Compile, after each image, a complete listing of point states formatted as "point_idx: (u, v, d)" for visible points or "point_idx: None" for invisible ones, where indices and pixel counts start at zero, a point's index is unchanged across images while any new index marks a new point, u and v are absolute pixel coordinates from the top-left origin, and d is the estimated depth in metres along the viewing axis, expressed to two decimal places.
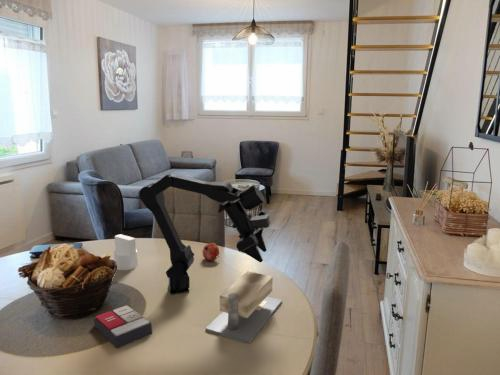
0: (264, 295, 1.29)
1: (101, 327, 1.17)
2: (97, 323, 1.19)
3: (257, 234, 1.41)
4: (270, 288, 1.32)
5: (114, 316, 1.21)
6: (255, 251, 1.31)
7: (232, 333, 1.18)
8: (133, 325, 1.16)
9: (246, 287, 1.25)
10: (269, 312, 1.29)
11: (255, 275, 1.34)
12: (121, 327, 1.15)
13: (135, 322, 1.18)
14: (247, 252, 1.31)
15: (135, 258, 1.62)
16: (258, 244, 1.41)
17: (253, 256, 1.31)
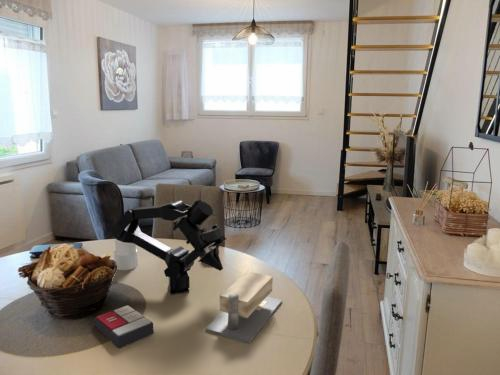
0: (264, 295, 1.29)
1: (102, 327, 1.17)
2: (98, 323, 1.19)
3: None
4: (270, 288, 1.32)
5: (115, 316, 1.21)
6: (212, 260, 1.35)
7: (232, 333, 1.18)
8: (135, 325, 1.16)
9: (246, 287, 1.25)
10: (269, 312, 1.29)
11: (255, 275, 1.34)
12: (123, 327, 1.15)
13: (136, 322, 1.18)
14: (205, 261, 1.35)
15: (135, 258, 1.62)
16: None
17: (212, 265, 1.35)
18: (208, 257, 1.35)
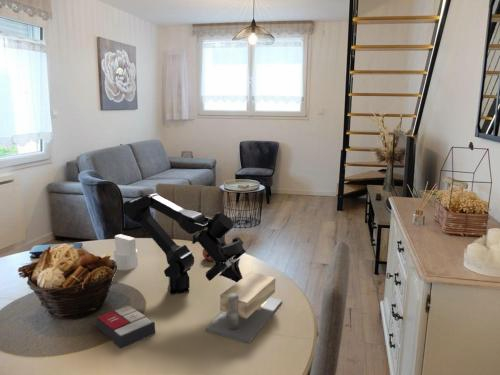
0: (266, 296, 1.28)
1: (104, 327, 1.17)
2: (100, 323, 1.19)
3: None
4: (272, 289, 1.32)
5: (117, 316, 1.21)
6: (233, 274, 1.32)
7: (232, 333, 1.18)
8: (136, 325, 1.16)
9: (247, 288, 1.25)
10: (269, 312, 1.29)
11: (257, 275, 1.34)
12: (125, 327, 1.15)
13: (138, 322, 1.18)
14: (226, 275, 1.33)
15: (135, 258, 1.62)
16: None
17: (233, 279, 1.33)
18: (229, 271, 1.33)
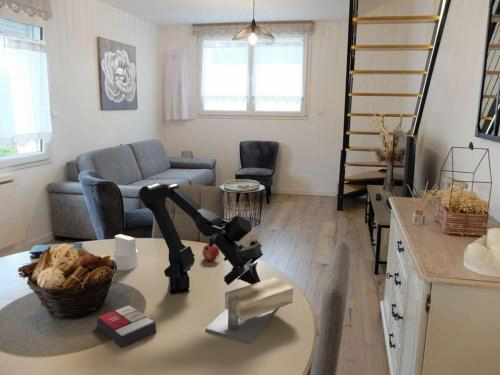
0: (276, 304, 1.23)
1: (105, 327, 1.17)
2: (100, 324, 1.19)
3: None
4: (287, 299, 1.26)
5: (117, 316, 1.21)
6: (251, 277, 1.30)
7: (232, 333, 1.18)
8: (137, 325, 1.16)
9: (256, 292, 1.23)
10: (269, 312, 1.29)
11: (277, 282, 1.29)
12: (126, 327, 1.15)
13: (139, 321, 1.18)
14: (244, 279, 1.30)
15: (135, 258, 1.62)
16: None
17: (251, 283, 1.31)
18: (247, 274, 1.30)
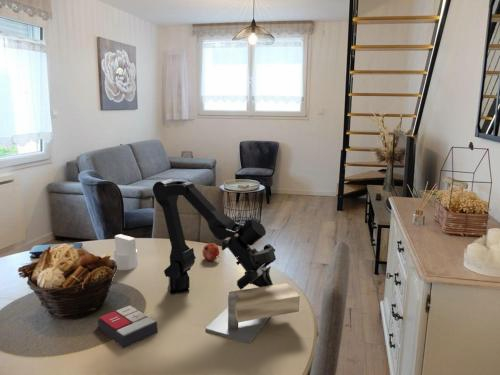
0: (279, 311, 1.19)
1: (106, 328, 1.17)
2: (101, 324, 1.19)
3: None
4: (293, 307, 1.21)
5: (118, 316, 1.21)
6: (264, 282, 1.28)
7: (232, 333, 1.18)
8: (139, 325, 1.16)
9: (259, 295, 1.21)
10: None
11: (286, 288, 1.25)
12: (127, 327, 1.15)
13: (140, 321, 1.18)
14: (257, 284, 1.28)
15: (135, 258, 1.62)
16: None
17: None
18: (260, 279, 1.28)
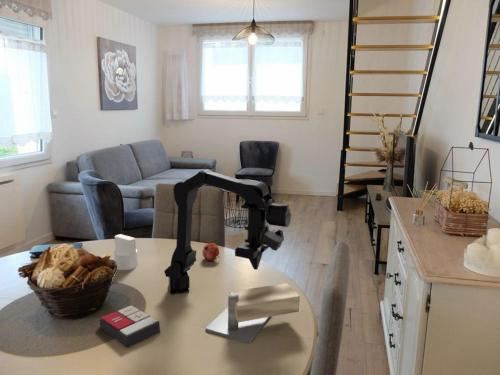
0: (279, 311, 1.19)
1: (108, 328, 1.17)
2: (104, 324, 1.19)
3: None
4: (293, 307, 1.21)
5: (120, 316, 1.21)
6: (255, 258, 1.29)
7: (232, 333, 1.18)
8: (142, 324, 1.16)
9: (259, 295, 1.21)
10: None
11: (286, 288, 1.25)
12: (130, 327, 1.15)
13: (143, 321, 1.18)
14: None
15: (135, 258, 1.62)
16: None
17: (251, 261, 1.30)
18: None
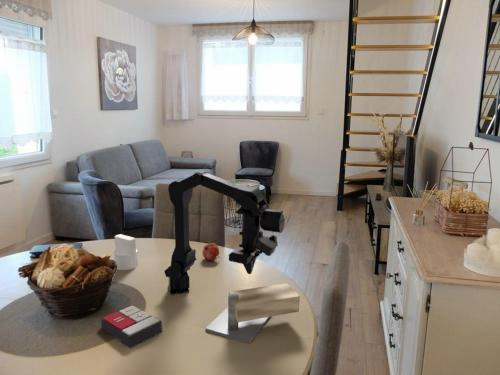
0: (279, 311, 1.19)
1: (110, 328, 1.17)
2: (105, 324, 1.19)
3: None
4: (293, 307, 1.21)
5: (122, 316, 1.21)
6: (249, 263, 1.31)
7: (232, 333, 1.18)
8: (144, 324, 1.16)
9: (259, 295, 1.21)
10: None
11: (286, 288, 1.25)
12: (132, 327, 1.15)
13: (145, 321, 1.18)
14: None
15: (135, 258, 1.62)
16: None
17: (245, 265, 1.32)
18: None
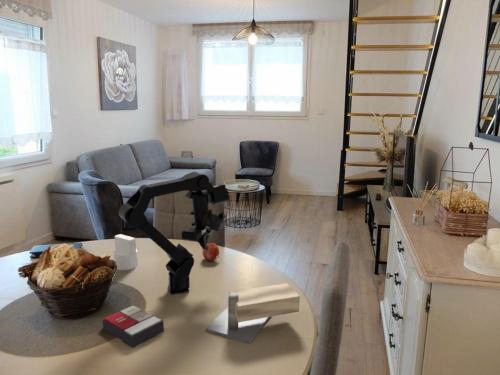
0: (279, 311, 1.19)
1: (112, 328, 1.17)
2: (107, 324, 1.19)
3: (205, 231, 1.46)
4: (293, 307, 1.21)
5: (124, 316, 1.21)
6: (202, 239, 1.45)
7: (232, 333, 1.18)
8: (146, 324, 1.17)
9: (259, 295, 1.21)
10: None
11: (286, 288, 1.25)
12: (134, 326, 1.15)
13: (146, 321, 1.18)
14: None
15: (135, 258, 1.62)
16: None
17: (199, 242, 1.46)
18: None
